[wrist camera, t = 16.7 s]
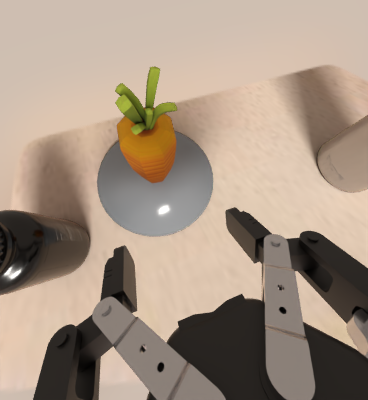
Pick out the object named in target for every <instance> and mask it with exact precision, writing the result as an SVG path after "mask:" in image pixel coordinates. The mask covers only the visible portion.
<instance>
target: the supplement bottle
mask: <svg viewBox="0 0 368 400" xmlns="http://www.w3.org/2000/svg"><path fill="white" fill-rule="evenodd" d="M89 247H90V241H89V237H88V234H87V232H86V231H85V229H84V228H83V227H82V226H81V225H79V224H77V223H75V222H72V221H68V220H64V219H59V218H54V217H49V216H44V215H39V214H34V213H29V212H24V211H17V210H4V211H0V295H4V294H8V293H11V292H15V291H18V290H21V289H24V288H27V287H31V286H34V285H37V284H40V283H43V282H46V281H50V280H53V279H56V278H59V277H62V276H65V275H68V274H70V273H72V272H74V271H75V270H76V269H78V268H79V267H80V266H81V265H82V264H83V262H84V261H85V259H86V257H87V255H88V252H89Z"/></svg>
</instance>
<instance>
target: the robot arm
mask: <svg viewBox="0 0 368 400" xmlns="http://www.w3.org/2000/svg"><path fill="white" fill-rule="evenodd" d="M317 160H318V166H319V169H320V171H321V173H322V175H323V176H324V178H325V179H326V180H327V181H328V182H329V183H330V184H332V185H333V186H334V187H336V188H338V189H340V190H343V191H346V192H360V191H363V190H367V189H368V115H367V116H365V117H364V118H362V119H361V120H359V121H358V122H356V123H355V124H353V125H352V126H350V127H348V128H347V129H345V130H344V131H342V132H341V133H340V134H338V135H337V136H335V137H334V138H332V139H331V140H329V141H328V142H326V143H325V144H323V145H322V147H321V148H320V150H319V152H318V156H317ZM226 225H227V228H228V231H229V232H230V234H231V235H232V236H233V237H234V239H235V240H236V241H237V242H238V244H239V245H240V246H241V247H242V248H243V250H244V251H245V252H246V253H247V255H248V256H249V257H250V258H251V260H252V261H253V262H254V263H257V262H259V261H260V262H261V264H262V295H261V300H257V299H245V298H244V296H243V295H242V294H241V295H238V296H236V297H234V298H231V299H229V300H227V301H226V302H224V303H223V304H222V305H221V306H220V307H218V308H217V309H216V310H215V311H214V312H211V313H203V314H195V315H192V316H190V317H187V318H185V319H183V320H181V321H178V325H179V328H178V329H176V330H175V331H174V332H173V334H172V335H171V336H170V338H169V339H168V341H167V343H166V342H165V341H164V340H163V339H161V338H160V337H159V336H158V335H157V334H156V333H155V332H154V331H153V330H152V329H150V328H149V327H148V326H147V325H146V324H145V323H144V322H143V321H142V320H140V319H139V318H138V317H135V316H134V315H133V314H132V313H133V312H135V311H137V298H136V279H135V265H134V261H133V259H132V257H131V255H130V253H129V251H128V249H127V247H126V246H125V245H124V246H121V247H119V248H116V249H114V255H113V257H112V258H109V259H108V261H107V263H106V265H105V270H104V279H103V286H102V293H101V301H100V302H99V303H98V304H97V306H96V307H95V309H94V311H93V314H92V315H91V316H90V317H89V318H87V319H86V320H85V321H83V322H82V323H80V324H79V325H78V326H74V325H71V324H70V325H66V326H64V327H62V328H61V329H60V330H58V331H57V332H56V333H55V334H54V336H53V337H52V338H51V340H50V342H49V344H48V347H47V350H46V354H45V358H44V361H43V365H42V369H41V372H40V376H39V380H38V383H37V387H36V391H35V394H34V398H33V400H98V399H99V379H100V359H101V356H102V355H103V354H104V353H106V352H107V351H108V350H109V349H110V348H111V347H113V346H114V348H115V349H116V351H117V352H118V353H119V354H120V355H121V357H122V358H123V359H124V360H125V362H126V363H127V364H128V365H129V366H130V368H131V369H132V370H133V371H134V372H135V374H136V375H137V376H138V377H139V379H140V380H141V381H142V382H143V383H144V385H145V386H146V387H147V388H148V390H149V394H148V397H147V400H368V268H367V267H365V266H364V265H362V264H361V263H360V262H358V261H357V260H356V259H354V258H353V257H351V256H350V255H349V254H347V253H346V252H345V251H343V250H342V249H341V248H339V247H338V246H336V245H335V244H334V243H332V242H331V241H330V240H328V239H327V238H326V237H324V236H323V235H321V234H319V233H317V232H314V231H304V232H302V233H301V234H300V237H299V238H291V239H285V238H284V237H282V236H280V235H276V234H272V233H270V232H269V231H268V230H267V229H266V228H265V227H264V226H263V225H262V224H260V223H259V222H258V221H257V220H256V219H254V217H253V216H251V215H250V214H249V213H246V212H244V211H242V212H240V211H239V210H238V209H237V208H235V207H234V208H231V209H228V210H226ZM295 271H298V272H299V273H300V274H301V275H302V276H303V277H304V278H305V279H306V280H307V282H308V283H309V284H310V285H311V286H312V287H313V288H314V289H315V290H316V291H317V292H318V293H319V294H320V295H321V297H322V298H323V299H324V300H325V301H326V302H327V303H328V304H329V305H330V306H331V307H332V308H333V309H334V310H335V312H336V313H337V314H338V315H339V316H340V317H341V318H342V319H343V320H344V321H345V322H346V323H347V332H348V334H349V336H350V338H351V339H352V340H353V343H354V344H355V345H356V346H357V348H358V351H357V350H356V349H354V348H352V347H351V346H349V345H347V344H345V343H343V342H341V341H339V340H337V339H335V338H333V337H331V336H329V335H327V334H326V333H324V332H322V331H320V330H318V329H316V328H314V327H312V326H310V325H308V324H306V323H304V322H303V319H302V313H301V307H300V301H299V294H298V288H297V282H296V276H295Z"/></svg>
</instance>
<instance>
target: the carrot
mask: <svg viewBox="0 0 368 400" xmlns="http://www.w3.org/2000/svg"><path fill="white" fill-rule="evenodd" d="M159 73H160V69H159V68H157V67H150V70H149V74H148V80H147V89H146V107H145V108H143V106H142V104H141V103H140V101H139V99H138V98H137V97H136V96H135V95H134V94H133V93H132V91H131V90H130V89H128V88H127V87H126V86H125V85H124V84H123V83H122V84H119V85H118V86H117V88H116V90H115V92H117V93H118V94H119V95H120V96H121V97H119V98H118V100H117V101H116V105H117V106H118V108H119V109H120V111H121V112H122V113H123V114H124V115H125V116H124V118H123V119H122V120H121V121H120V122H119V123H118V124H117V131H118V137H119V144H120V149H121V152H122V153H123V155H124V156H125V158H126V160H127V161H128V163H129V164H130V166H131V167H132V169H133V170H134V171H135V172H136V173H138V174H139V175H140V176H141V177H143V178H144V179H146V180H148V181H149V182H151V183H157V182H162V181H163V180H164V179H165V178H166V176H167V175H168V173H169V172H170V170H171V168H172V166H173V163H174V159H175V152H176V137H175V133H174V128H173V124H172V120H171V118H170V117H169V116H167V115H166V114H164V113H166V112H172V111H177V107H176V105H175V103H170V102H167V103H162V104H159V105H158V106H157V107H156V108H154V107H153V104H154V99H155V93H156V88H157V83H158V79H159Z"/></svg>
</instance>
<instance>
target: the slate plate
mask: <svg viewBox="0 0 368 400" xmlns="http://www.w3.org/2000/svg"><path fill="white" fill-rule="evenodd" d="M174 133H175V137H176V152H175V159H174V163H173V166H172V168H171V170H170V172H169V173H168V175H167V176H166V178H165V179H164V180H163V181H162V182H157V183H151V182H149V181H148V180H146V179H144V178H143V177H141V176H140V175H139V174H138V173H136V172H135V171H134V170H133V169H132V167H131V166H130V164H129V163H128V161H127V160H126V158H125V156H124V155H123V153H122V152H121V149H120V144H119V141H118V142H117V143H116V144H115V145H114V146H113V147H112V148H111V149H110V150H109V151H108V153H107V154H106V155H105V157H104V159H103V161H102V163H101V166H100V169H99V172H98V179H97V187H98V194H99V198H100V201H101V203H102V205H103V207H104V209H105V211H106V212H107V213H108V215H109V216H110V217H111V218H112V219H113V220H114V221H115V222H116V223H117V224H119V225H120V226H121V227H123V228H125V229H127V230H128V231H131V232H133V233H136V234H140V235H144V236H152V237H155V236H166V235H170V234H174V233H177V232H179V231H181V230H183V229H185V228H187V227H188V226H190V225H191V224H192V223H193V222H195V221H196V220H197V218H198V217H199V216H200V215H201V214H202V213H203V211H204V210H205V208H206V207H207V205H208V203H209V200H210V197H211V194H212V190H213V173H212V168H211V165H210V163H209V160H208V158H207V156H206V155H205V153H204V152H203V150H202V149H201V148H200V147H199V146H198V145H197V144H196V143H195V142H194V141H193V140H191V139H190V138H188V137H187V136H185V135H183V134H181V133H178V132H176V131H174Z"/></svg>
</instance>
